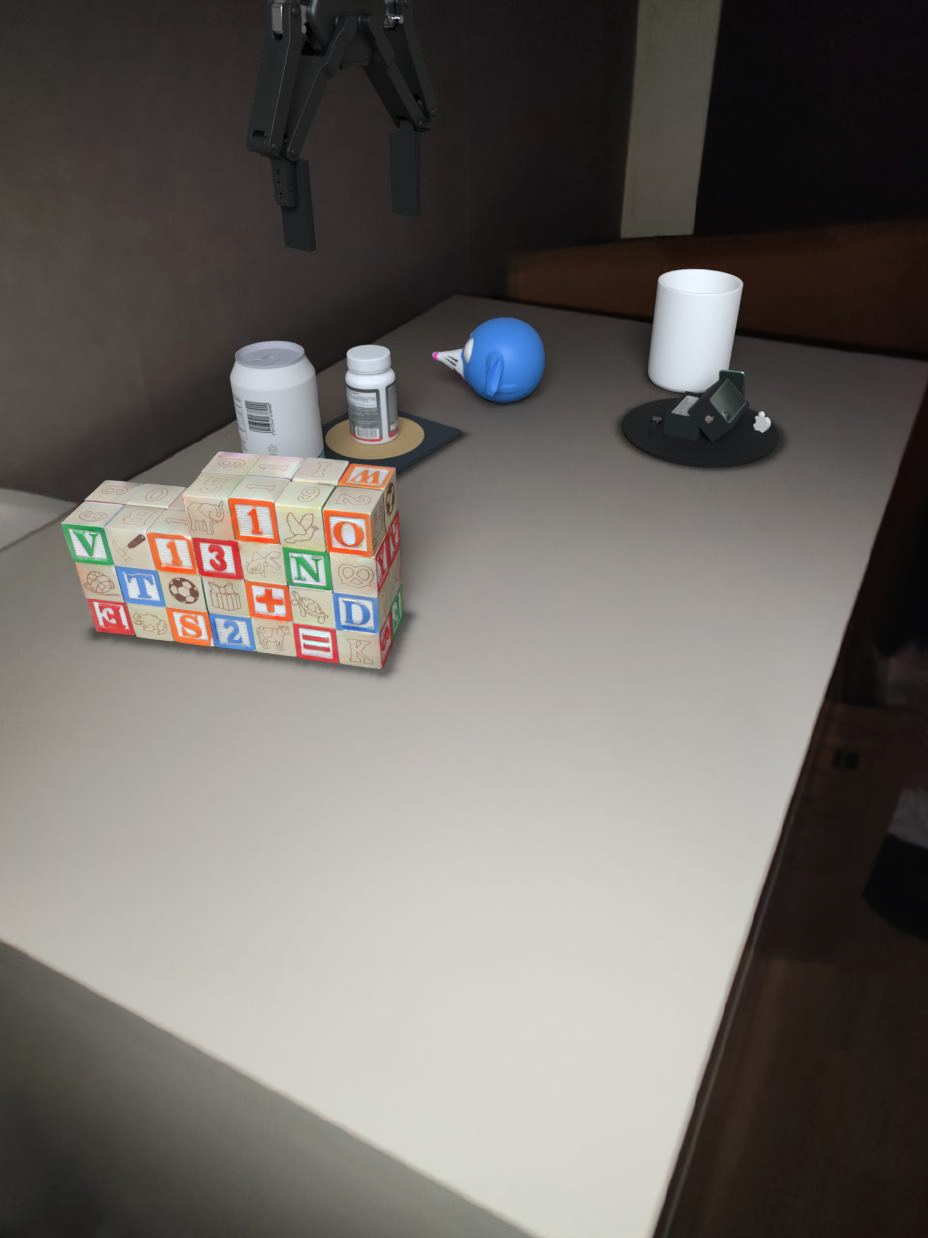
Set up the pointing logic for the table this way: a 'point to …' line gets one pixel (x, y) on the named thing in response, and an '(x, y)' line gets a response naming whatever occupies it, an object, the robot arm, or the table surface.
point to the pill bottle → (371, 395)
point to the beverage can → (277, 401)
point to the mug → (693, 328)
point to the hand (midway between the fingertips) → (356, 230)
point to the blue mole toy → (499, 360)
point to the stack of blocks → (248, 558)
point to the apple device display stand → (703, 426)
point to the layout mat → (399, 453)
